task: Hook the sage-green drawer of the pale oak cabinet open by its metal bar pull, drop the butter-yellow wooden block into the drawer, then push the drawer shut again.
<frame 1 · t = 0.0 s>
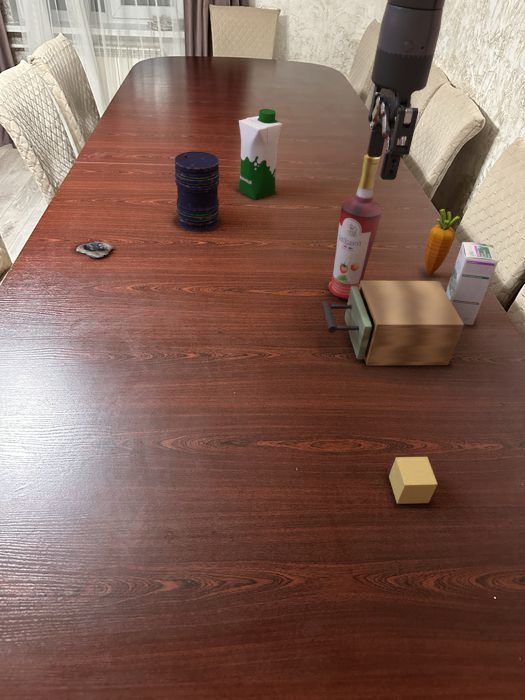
hand: (380, 167, 79), 30 cm above the table, tool pointing down, fingers open, 8 cm apart
drawer: (376, 322, 92), point 5 cm above the table, slide at 0.5 cm
syrup box: (455, 315, 102), on the table
liquor: (344, 294, 106), on the table
milk carton: (256, 192, 138), on the table
oyster shell: (93, 251, 112), on the table
storage jar: (198, 222, 124), on the table
cabinet: (397, 341, 95), on the table
carrot: (428, 275, 113), on the table
block: (408, 489, 71), on the table
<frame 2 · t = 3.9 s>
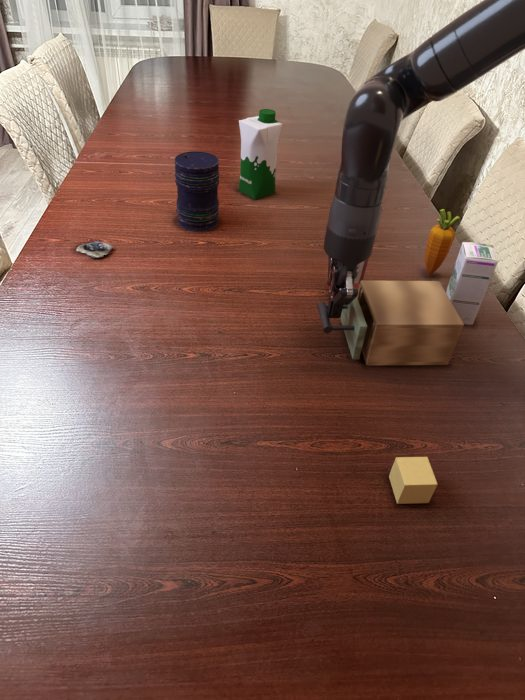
hand: (333, 315, 90), 6 cm above the table, tool pointing down, fingers closed
drawer: (372, 322, 91), point 5 cm above the table, slide at 1.3 cm, touching gripper
everything else where it was.
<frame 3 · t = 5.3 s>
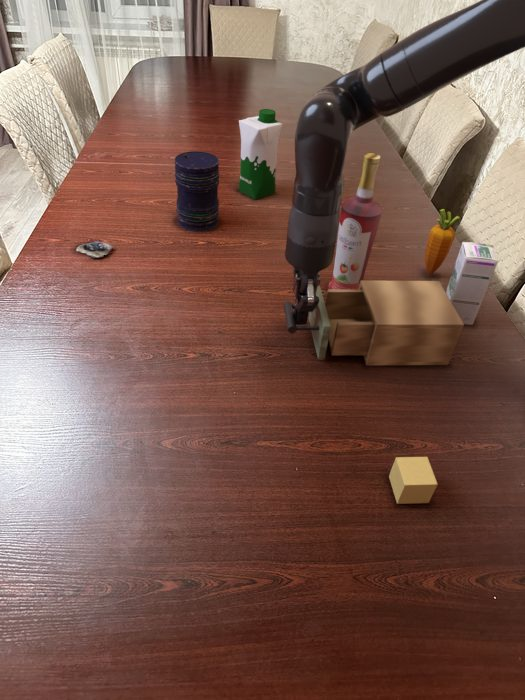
hand: (299, 322, 90), 4 cm above the table, tool pointing down, fingers closed
drawer: (338, 322, 91), point 5 cm above the table, slide at 7.3 cm, touching gripper
everything else where it was.
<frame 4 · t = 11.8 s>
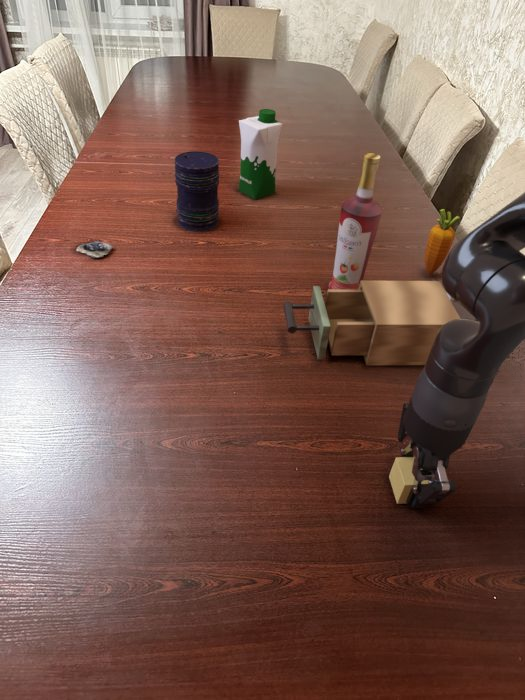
hand: (408, 488, 71), 0 cm above the table, tool pointing down, fingers closed on block, 4 cm apart
drawer: (338, 322, 91), point 5 cm above the table, slide at 7.3 cm
block: (408, 489, 71), on the table, touching gripper
everything else where it was.
when the fingers open (9 cm above the table, at t = 19.5 s): block drops 7 cm, resting on drawer.
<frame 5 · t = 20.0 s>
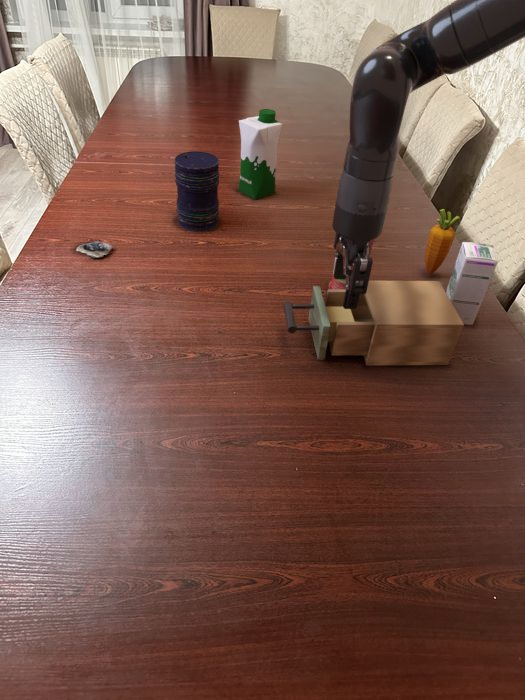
hand: (344, 292, 87), 11 cm above the table, tool pointing down, fingers open, 8 cm apart
drawer: (338, 322, 91), point 5 cm above the table, slide at 7.3 cm, touching block
block: (335, 333, 92), point 2 cm above the table, touching drawer
everything else where it was.
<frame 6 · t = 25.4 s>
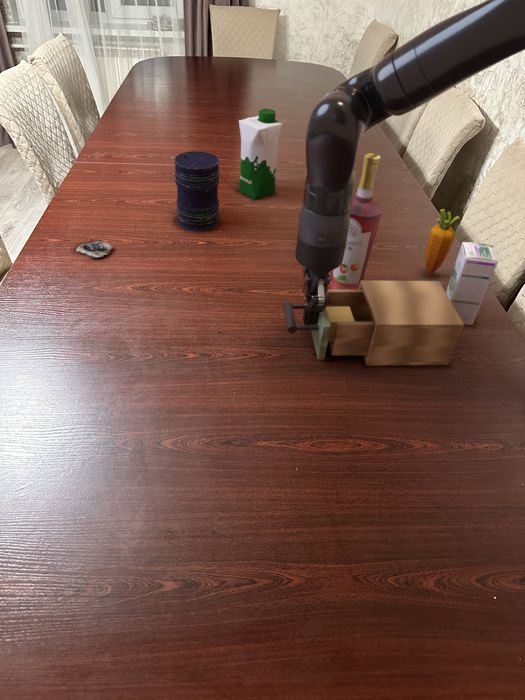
hand: (309, 322, 90), 5 cm above the table, tool pointing down, fingers closed
drawer: (338, 322, 91), point 5 cm above the table, slide at 7.3 cm, touching block, gripper
everything else where it was.
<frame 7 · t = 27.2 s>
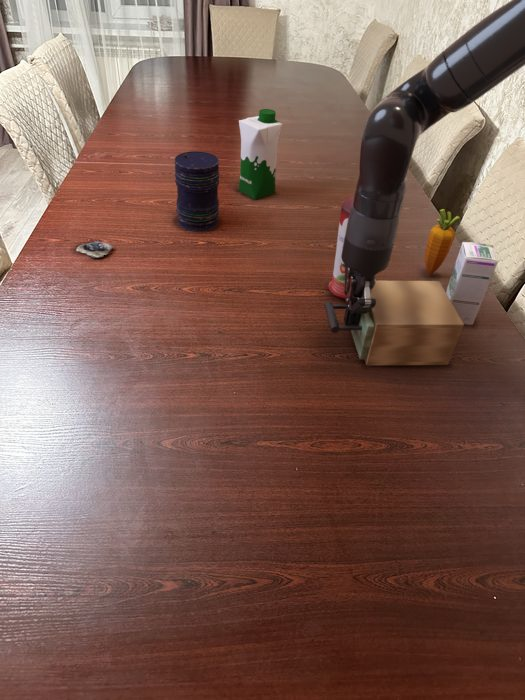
hand: (350, 323, 91), 4 cm above the table, tool pointing down, fingers closed
drawer: (379, 322, 92), point 5 cm above the table, slide at 0.0 cm, touching block, cabinet, gripper
block: (376, 333, 93), point 2 cm above the table, touching drawer
everything else where it was.
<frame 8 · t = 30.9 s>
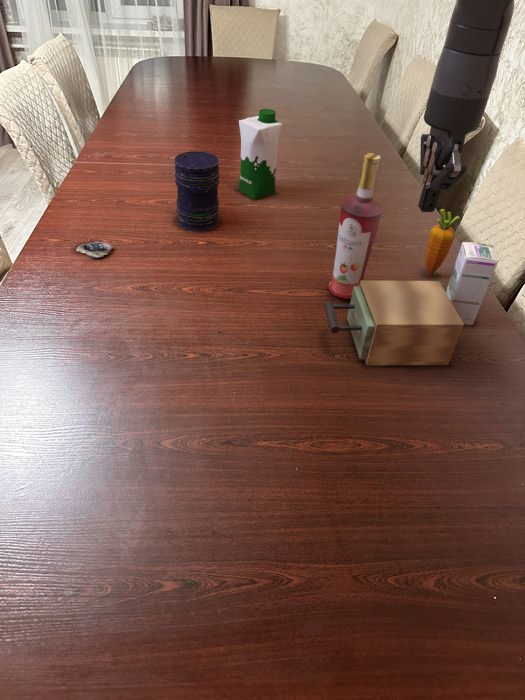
hand: (425, 209, 80), 25 cm above the table, tool pointing down, fingers closed
drawer: (379, 322, 92), point 5 cm above the table, slide at 0.0 cm, touching block
everything else where it was.
at the end: drawer pulled out 7.3 cm at the most during the clip, back to where it started at the end; block inside the target area in the cabinet (4.5 cm from its centre), point 2.0 cm above the cabinet's base; drawer slide at 0.0 cm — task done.
